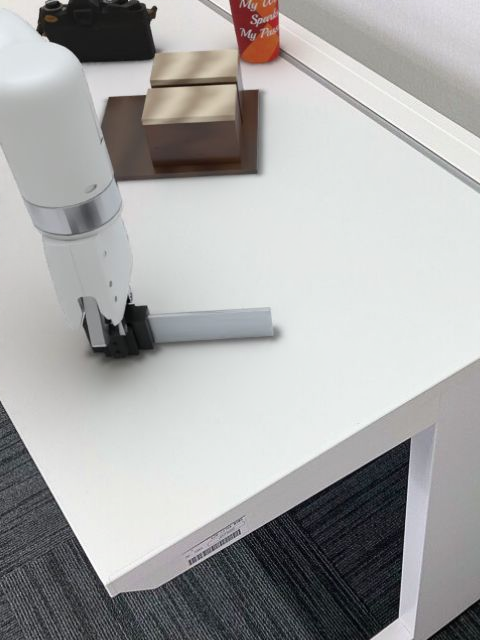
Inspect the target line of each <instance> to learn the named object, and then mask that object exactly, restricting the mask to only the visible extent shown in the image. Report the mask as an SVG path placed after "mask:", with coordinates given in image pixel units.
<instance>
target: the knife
mask: <svg viewBox="0 0 480 640" xmlns="http://www.w3.org/2000/svg"><path fill="white" fill-rule="evenodd" d="M271 309H272V308H271V307H270V306H267V307H266V306H265V307H264V306H263V307H250V308H233V309H232V308H229V309H216V310H199V311H183V312H182V311H180V312H165V313H150V310H149V306H148V305H135V306H126V307H125V311H124V318H125V321H126V324H127V326H131V328H132V331H133V334H134V337H135V340H136V342H137V345H138V348H139V351H146V350H147V351H148V350H154V349H155V344H158V343H159V344H160V343H175V342H176V343H177V342H192V341H209V340H210V341H211V340H224V339H225V340H226V339H241V338H242V339H243V338H245V339H246V338H259V337H274V336H275V332H274V324H273V317H272V316H273V315H272V312H271V311H272V310H271ZM104 320H105V324H109V323H111V319H104ZM81 326H82V328H83V330H84V333H85V335H86V337H87V340H88V343H89V345H90V347H91V350H92V353H93V354H94V353H96V354H97V353H105V352H104V349H103V347H92V344H91V340H90V335H89V330H88V325H87V320H86V315H85V314H83V318H82V323H81Z"/></svg>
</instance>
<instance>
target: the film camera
mask: <svg viewBox="0 0 480 640" xmlns="http://www.w3.org/2000/svg"><path fill="white" fill-rule="evenodd" d="M157 13H158V7H157V5H153V6H152V7H151V8H147V4H146V3H144V2H141V1H140V0H68V2H67V3H62V2H61V1H59V0H46V1H45V2H44V5H43V6H40V7H39V8H38V19H37V25H36V28H35V30H36V31H37V32H38V33H39V34H40V35H41V36H42V37H43V38H47V40H48V42H52V43H56V44H58V45H61V46H64V47H65V48H67V49H69V50H70V51H71V52H72V53H73V54H74V55H75V56H76V57H77V58H78V60H79V62H80V63H82V64H83V63H84V64H85V63H109V62H110V63H111V62H114V63H115V62H144V61H149V60H154V57H155V53H157V51H156V44H155V41H154V35H153V32H152V27H151V23H152V21H153V20H156V17H157Z"/></svg>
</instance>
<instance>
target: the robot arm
mask: <svg viewBox="0 0 480 640" xmlns="http://www.w3.org/2000/svg"><path fill="white" fill-rule="evenodd" d="M0 148H1V150H2V153H3V155H4V158H5V161H6V162H7V165H8V168H9V169H10V172H11V175H12V177H13V179H14V182H15V184H16V186H17V189H18V191H19V194H20V196H21V198H22V201H23V203H24V206H25V208H26V211H27V213H28V216H29V217H30V220H31V222H32V226H33V227H34V228H35V230H36V231H37V232H38V233H39V234H40V235H41V237H42V238H41V239H42V240H41V241H42V247H43V252H44V257H45V261H46V265H47V269H48V273H49V276H50V279H51V282H52V285H53V289H54V292H55V294H56V297H57V300H58V302H59V305H60V308H61V311H62V313H63V316H64V318H65V321H66V323H67V325H68V326H69V327H70V328H71V329H80V328H81V326H82V323H83V318H84V315H86V320H87V325H88V330H89V335H90V340H91V344H92V347H103V349H104V352H103V353H104V355H105V357H106V358H114V359H125V358H127V357H129V356H130V357H131V356H139V355H140V350H139V348H138V345H137V342H136V340H135V337H134V334H133V331H132V328H131V326H127V324H126V321H125V318H124V311H125V307H126V306H136V303H133V302H134V296H133V295H134V294H133V292H132V288H131V286H130V284H131V277H132V271H133V262H134V260H133V259H134V258H133V257H134V255H133V250H132V246H131V242H130V239H129V235H128V231H127V229H126V226H125V223H124V220H123V217H122V213H123V210H124V202H123V198H122V194H121V191H120V188H119V184H118V181H116V177H115V174H114V171H113V168H112V164H111V161H110V157H109V154H108V151H107V147H106V144H105V140H104V137H103V134H102V130H101V123H100V120H99V117H98V114H97V110H96V107H95V104H94V100H93V97H92V93H91V90H90V87H89V83H88V80H87V76H86V73H85V71H84V68H83V65H82V64H81V63H80V62H79V60H78V58H77V57H76V56H75V55H74V54H73V53H72V52H71V51H70V50H69V49H67V48H65V47H64V46H61V45H58V44H56V43H52V42H49V41H47V40H46V39H45V37H44V36H41V35H40V34H39V33H38V32H37V31H36V28H35V27H34V26H33V25H32V24H31V23H30V22H29V21H27V20H26V19H24V18H23V17H22V16H20V15H19V14H18V13H16V12H15V11H13V10H10V9H9V8H6V7H5V8H4V7H0ZM104 319H111V323H109V324H105V320H104Z"/></svg>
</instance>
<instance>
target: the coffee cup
mask: <svg viewBox="0 0 480 640" xmlns="http://www.w3.org/2000/svg"><path fill="white" fill-rule="evenodd" d="M228 3H229V8H230V14H231V18H232V22H233V28H234V33H235V38H236V43H237V44H236V45H237V48H238V52H239V58H241V60H243V61H244V62H246V63H250V64H266V63H270V62H272V61H275V60H276V59H278V57H279V56H280V52H281V51H280V49H281V48H280V46H281V45H280V10H279V0H228Z"/></svg>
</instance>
